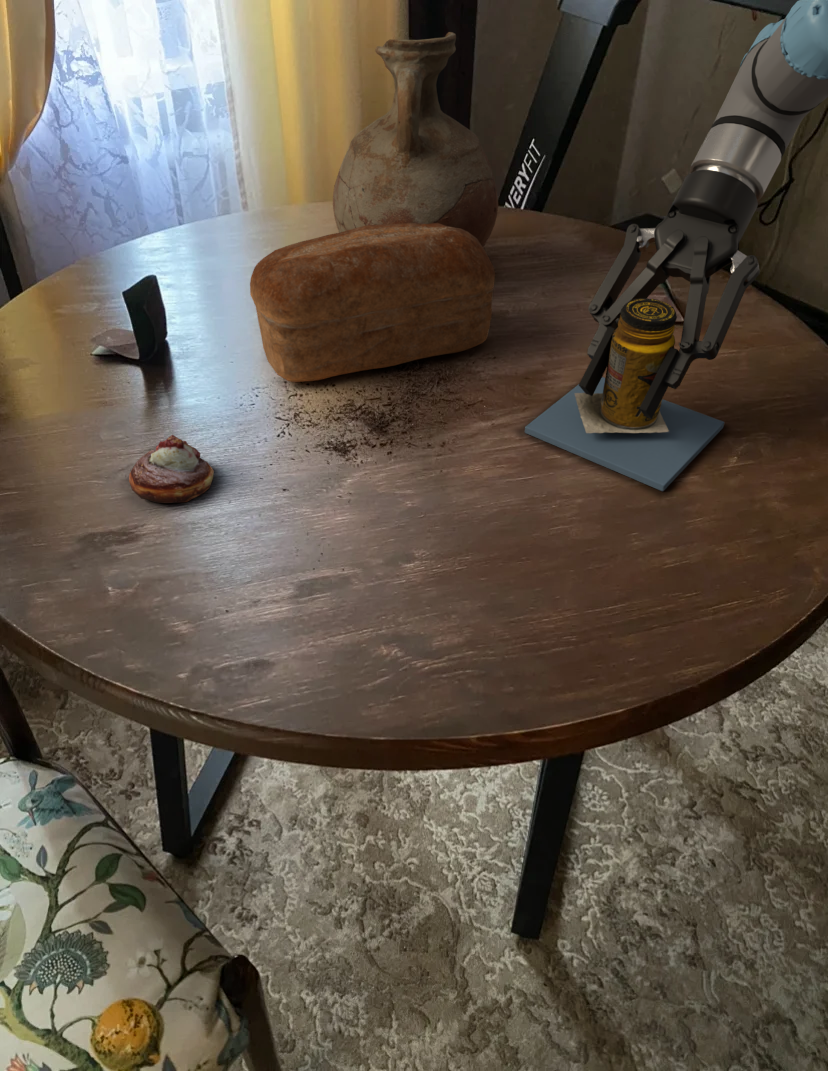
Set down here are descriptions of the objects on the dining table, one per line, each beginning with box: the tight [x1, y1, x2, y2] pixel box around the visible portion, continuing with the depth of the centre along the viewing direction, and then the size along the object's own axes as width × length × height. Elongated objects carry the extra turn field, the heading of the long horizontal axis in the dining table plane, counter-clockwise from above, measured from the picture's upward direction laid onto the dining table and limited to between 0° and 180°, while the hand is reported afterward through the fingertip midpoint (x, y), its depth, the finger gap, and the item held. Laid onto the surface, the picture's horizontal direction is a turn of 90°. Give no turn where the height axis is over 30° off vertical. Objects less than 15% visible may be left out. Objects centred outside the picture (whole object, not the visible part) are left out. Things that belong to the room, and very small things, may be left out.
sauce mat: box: [524, 376, 725, 492], centre depth 89 cm, size 16×14×1 cm
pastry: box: [128, 434, 215, 504], centre depth 81 cm, size 8×8×5 cm
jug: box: [332, 31, 499, 248], centre depth 107 cm, size 22×22×30 cm
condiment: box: [574, 298, 678, 433], centre depth 84 cm, size 7×8×12 cm
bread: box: [249, 223, 496, 383], centre depth 97 cm, size 12×28×14 cm, turn 111°
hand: (615, 401), depth 83 cm, fingers closed on condiment, 6 cm apart
